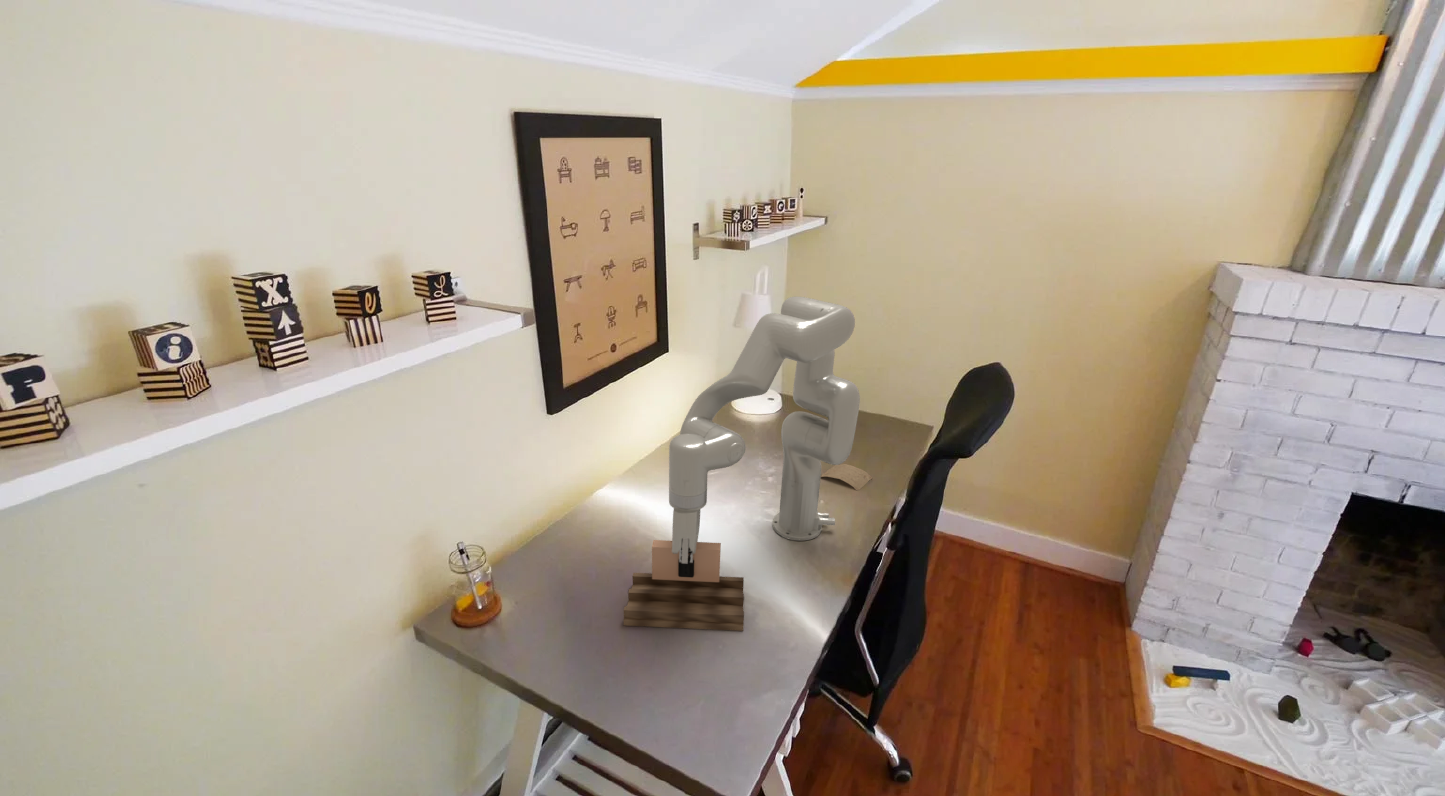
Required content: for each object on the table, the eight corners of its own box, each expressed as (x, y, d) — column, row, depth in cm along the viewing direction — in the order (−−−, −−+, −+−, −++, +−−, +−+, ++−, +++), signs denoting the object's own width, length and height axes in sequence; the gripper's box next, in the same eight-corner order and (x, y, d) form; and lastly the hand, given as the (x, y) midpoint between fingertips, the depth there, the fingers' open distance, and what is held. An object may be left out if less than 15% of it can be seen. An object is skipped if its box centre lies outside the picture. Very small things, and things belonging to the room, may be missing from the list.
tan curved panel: (874, 480, 177) (875, 472, 176) (861, 494, 170) (862, 486, 169) (830, 466, 185) (830, 458, 184) (815, 478, 177) (816, 470, 176)
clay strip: (719, 574, 125) (720, 543, 122) (719, 582, 123) (720, 550, 120) (653, 571, 125) (653, 539, 122) (652, 579, 123) (651, 547, 120)
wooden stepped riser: (742, 589, 129) (743, 576, 128) (743, 630, 118) (744, 617, 117) (634, 584, 130) (633, 571, 128) (623, 625, 118) (623, 611, 117)
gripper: (673, 474, 124) (673, 547, 131) (664, 516, 109) (664, 596, 116) (708, 476, 124) (706, 549, 131) (704, 518, 109) (702, 598, 116)
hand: (686, 570), depth 123 cm, fingers closed on clay strip, 2 cm apart
